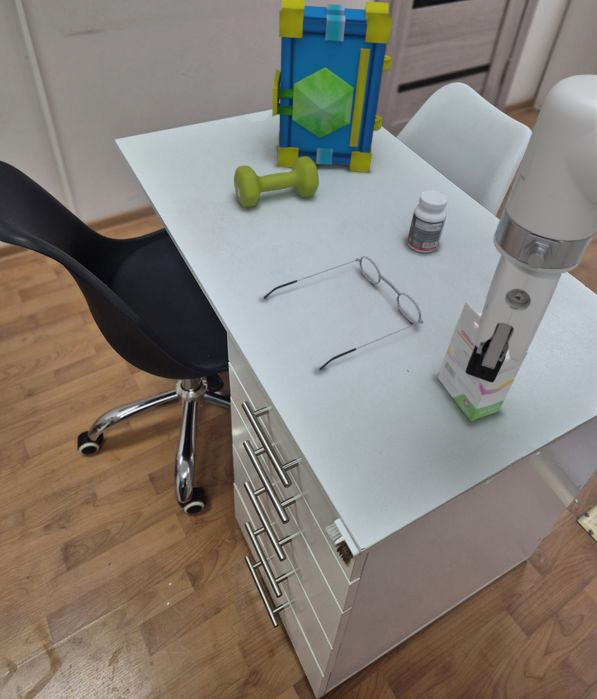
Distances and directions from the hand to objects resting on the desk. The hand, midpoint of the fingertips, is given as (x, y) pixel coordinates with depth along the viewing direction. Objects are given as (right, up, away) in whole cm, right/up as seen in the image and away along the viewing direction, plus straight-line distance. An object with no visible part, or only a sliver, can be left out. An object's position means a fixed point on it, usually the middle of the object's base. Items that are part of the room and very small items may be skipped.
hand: (480, 373), depth 60 cm
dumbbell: (-25, +33, +50) cm, 65 cm away
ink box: (+3, -4, +16) cm, 17 cm away
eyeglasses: (-13, +8, +27) cm, 31 cm away
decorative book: (-14, +45, +62) cm, 78 cm away
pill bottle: (+3, +22, +41) cm, 46 cm away
